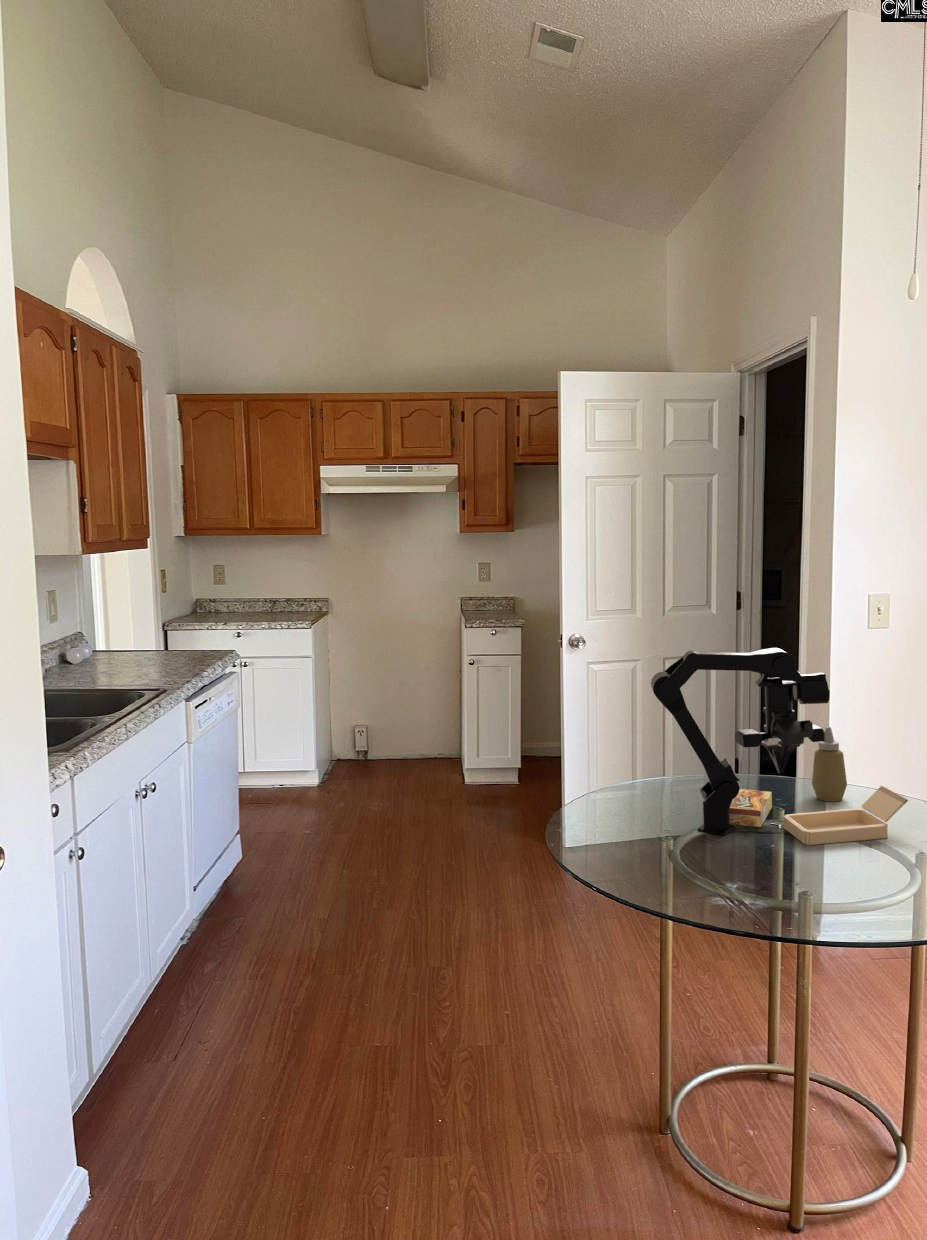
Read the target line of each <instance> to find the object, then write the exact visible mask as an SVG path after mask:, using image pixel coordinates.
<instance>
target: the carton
mask: <svg viewBox="0 0 927 1240" xmlns="http://www.w3.org/2000/svg"><path fill="white" fill-rule="evenodd" d="M782 817H783V818H782V819H783V820H782V821H783V826H782V827H783V829H784V830H786V831H787V832H788V833H789V834H791V835H792V836H793V837H795V838H796V839H797V840H798V841H800V842H801V843H803V844H805V845H806V846H814V845H825V844H826V845H827V844H835V843H837V844H838V843H845V842H846V843H848V842H859V841H869V840H871V841H872V840H879V839H880V840H881V839H888V824H887V823H886V822H885V821H883V820H881V819H880V818H878V817H877V816H875V815H873V814H872V813H870V812H868V811H867V810H865V809H863V808H845V809H834V810H833V809H832V810H822V811H814V812H813V811H812V812H801V813H799V812H797V813H790V814H788V813H787V814H785V815H783V816H782Z"/></svg>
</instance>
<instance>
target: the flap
mask: <svg viewBox="0 0 927 1240" xmlns="http://www.w3.org/2000/svg"><path fill="white" fill-rule="evenodd" d="M907 802H909V800H908V799H907V798H906V797H904V796H902V795H901V794H899V793H897V792H895V791H893V790H891V789H888V788H887V787H886V786H883V785H880V786H879V787H878V788H877V790H875V792H873V794H871V796H870V797H868V799H867V800H866V801H864V803H862V805H861V806H860V807H861V809H862V810H864V811H866V812H867V813H869V814H871V815H872V816H874V817H876V818H877V819H879V820H881V821H882V822H884V823H888V822H889V821H890V820H891V818H892V817H894V815H895V814H896V813H898V812H899V810H900V809H901V808H903V806H904V805H906V804H907Z"/></svg>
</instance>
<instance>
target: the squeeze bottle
mask: <svg viewBox="0 0 927 1240" xmlns="http://www.w3.org/2000/svg"><path fill="white" fill-rule="evenodd" d="M824 732H825V741H821V742H817V743H818V748H817V749H816V750H815V751H814V756H813V765H812V766H813V767H812V780H811V785H812V789H813V790H814V793H815V796H816V798H817V799H818V800H819V801H820V800H821V801H825V802H839V801H842V800H843V798H844V795H845V792H846V790H847V786H848V781H847V773H846V765H845V759H844V758H845V757H844V752H843V751H842V750H840V742H839V741H837V740H835V739H834V734H833V730H832V727H831V726H825V729H824Z"/></svg>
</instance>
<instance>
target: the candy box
mask: <svg viewBox="0 0 927 1240" xmlns="http://www.w3.org/2000/svg"><path fill="white" fill-rule="evenodd" d="M772 794H773V793H772V791H766V790H754V789H742V788H740V790H739V793H738V795H737V796H736V797H735V798H734V799H733V800H732V802H731V805H730V808H729V824H731V825H735V826H736V825H737V826H745V827H746V826H747V827H756V828H762V826H763V824H764V822H765V821H766V819H767V817H768V815H769V814H770V812H771V809H772V808H773V800H772V798H773V797H772V796H773V795H772Z"/></svg>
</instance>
